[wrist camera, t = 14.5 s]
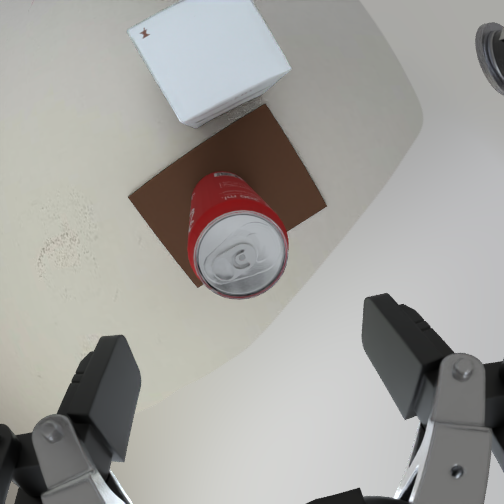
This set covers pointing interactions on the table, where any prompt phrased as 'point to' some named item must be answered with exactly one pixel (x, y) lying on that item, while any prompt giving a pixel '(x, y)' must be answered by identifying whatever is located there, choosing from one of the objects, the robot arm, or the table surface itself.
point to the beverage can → (234, 238)
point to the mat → (235, 161)
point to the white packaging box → (209, 56)
